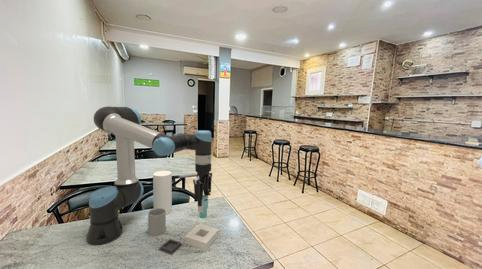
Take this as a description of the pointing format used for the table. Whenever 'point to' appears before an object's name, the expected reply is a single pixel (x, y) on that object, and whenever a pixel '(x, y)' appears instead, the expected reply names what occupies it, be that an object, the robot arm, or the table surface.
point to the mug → (156, 221)
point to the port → (199, 241)
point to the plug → (204, 214)
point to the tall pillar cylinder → (162, 190)
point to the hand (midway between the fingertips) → (203, 209)
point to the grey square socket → (170, 247)
